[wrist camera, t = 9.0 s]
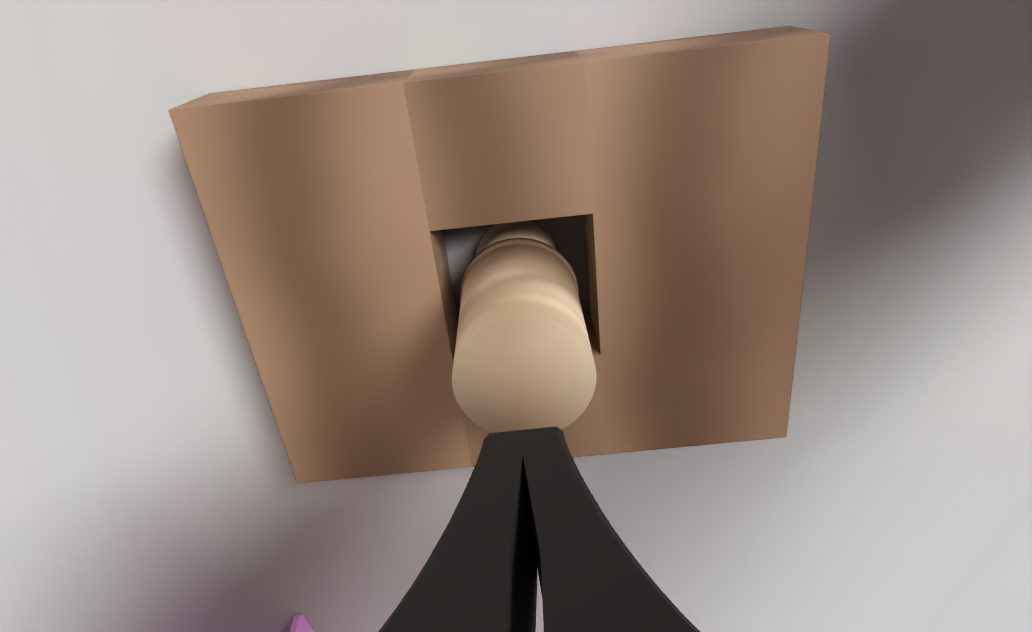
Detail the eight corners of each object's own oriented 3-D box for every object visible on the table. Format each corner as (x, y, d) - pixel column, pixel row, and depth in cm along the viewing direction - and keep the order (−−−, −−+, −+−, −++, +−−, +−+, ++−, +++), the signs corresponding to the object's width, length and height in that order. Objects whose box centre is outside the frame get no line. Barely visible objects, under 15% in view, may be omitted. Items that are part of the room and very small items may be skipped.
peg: (567, 203, 20) (597, 309, 14) (571, 300, 21) (600, 435, 15) (458, 212, 20) (440, 321, 14) (470, 308, 21) (458, 445, 15)
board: (789, 26, 18) (830, 33, 15) (759, 392, 23) (786, 436, 21) (209, 93, 18) (168, 110, 16) (316, 435, 24) (297, 483, 21)
